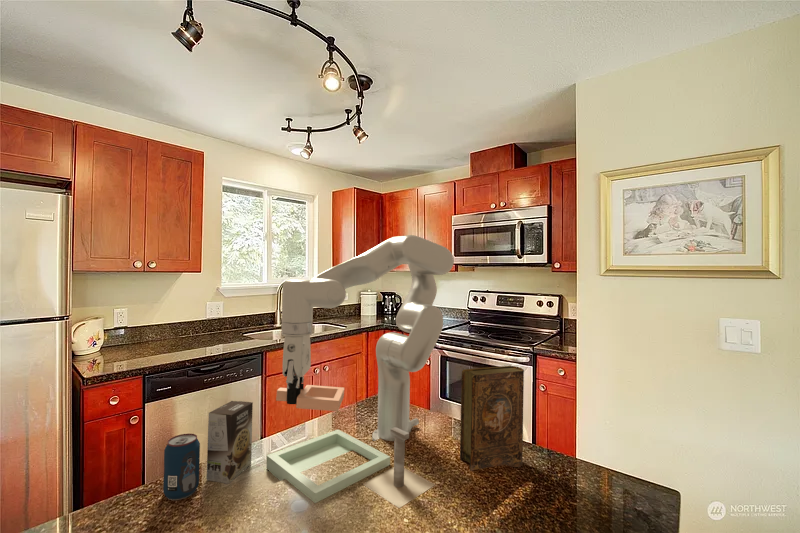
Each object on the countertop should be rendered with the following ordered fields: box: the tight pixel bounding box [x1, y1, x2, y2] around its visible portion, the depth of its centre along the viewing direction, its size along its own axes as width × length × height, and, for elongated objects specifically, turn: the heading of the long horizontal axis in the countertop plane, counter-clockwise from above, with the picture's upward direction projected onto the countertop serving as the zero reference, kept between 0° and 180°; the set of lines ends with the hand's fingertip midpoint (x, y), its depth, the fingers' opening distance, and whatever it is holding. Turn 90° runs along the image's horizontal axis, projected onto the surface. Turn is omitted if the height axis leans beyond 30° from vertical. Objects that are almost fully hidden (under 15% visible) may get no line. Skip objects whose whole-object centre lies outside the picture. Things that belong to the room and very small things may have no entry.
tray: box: [265, 429, 391, 504], centre depth 93 cm, size 22×22×4 cm
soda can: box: [162, 433, 201, 501], centre depth 83 cm, size 7×7×12 cm
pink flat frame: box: [275, 384, 345, 412], centre depth 93 cm, size 16×10×2 cm, turn 91°
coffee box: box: [206, 400, 254, 484], centre depth 92 cm, size 9×6×16 cm
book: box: [459, 365, 525, 471], centre depth 97 cm, size 16×6×25 cm, turn 109°
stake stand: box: [362, 427, 436, 509], centre depth 85 cm, size 12×12×14 cm
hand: (295, 401), depth 93 cm, fingers closed on pink flat frame, 2 cm apart
